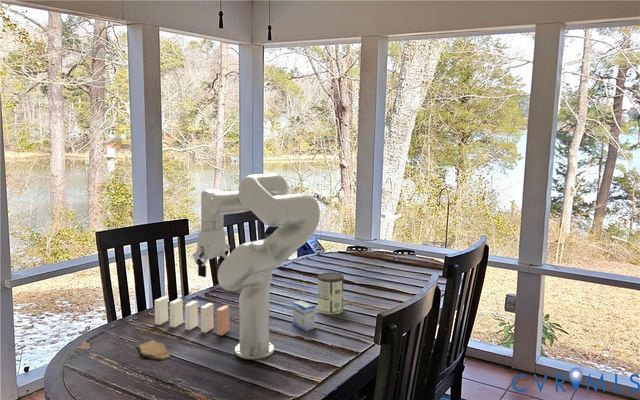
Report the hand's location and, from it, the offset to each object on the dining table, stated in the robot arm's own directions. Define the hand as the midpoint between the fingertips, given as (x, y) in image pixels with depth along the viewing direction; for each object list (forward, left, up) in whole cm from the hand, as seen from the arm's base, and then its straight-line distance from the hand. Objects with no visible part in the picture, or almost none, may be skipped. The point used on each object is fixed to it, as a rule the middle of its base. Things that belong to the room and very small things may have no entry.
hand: (212, 273), depth 179 cm
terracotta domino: (-2, -4, -21) cm, 21 cm away
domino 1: (+5, +14, -21) cm, 26 cm away
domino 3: (0, +2, -21) cm, 21 cm away
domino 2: (+3, +8, -21) cm, 23 cm away
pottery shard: (-19, +15, -22) cm, 32 cm away
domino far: (+7, +20, -21) cm, 30 cm away
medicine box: (+5, -32, -21) cm, 39 cm away
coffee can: (+23, -42, -21) cm, 52 cm away
